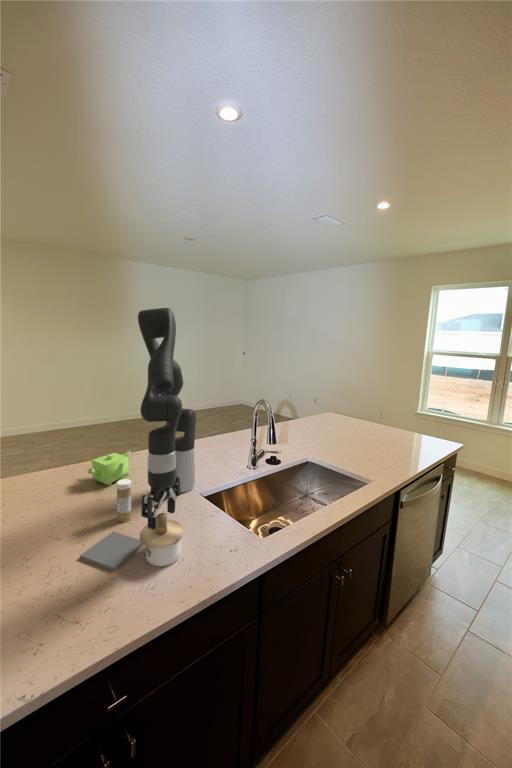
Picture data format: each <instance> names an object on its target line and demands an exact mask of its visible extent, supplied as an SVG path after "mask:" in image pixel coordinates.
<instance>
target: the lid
mask: <svg viewBox="0 0 512 768" xmlns="http://www.w3.org/2000/svg"><path fill="white" fill-rule="evenodd" d="M156 516H157V528H156V529H154V530H153V529H150V528H149V527H148V524H146V525H145V526H144V527H143V528H142V529H141V531H140V532H139V540H140V541H141V543H142V544H143V546H144V547H146V548H147V547H150V548H164V547H168V546H171V545H173V544H175V543H176V542H178V541H179V540H180V541H181V539H182V538H183V535H184V527H183V525H182V524H181V523H180V522H178V521H176V520H174V519H173V520H172V519H168V514H167V513H166V512H160V513H158V514H156Z"/></svg>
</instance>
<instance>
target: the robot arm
mask: <svg viewBox="0 0 512 768" xmlns="http://www.w3.org/2000/svg"><path fill="white" fill-rule="evenodd" d="M137 314H138V315H137V322H138V327H139V330H140V333H141V336H142V338H143V342H144V344H145V346H146V349H147V352H148V355H149V358H150V359H149V362H148V364H147V365H148V366H147V387H146V391H145V393H144V397H142V398H143V399H142V402H141V404H140V415H141V418H143V420H144V421H145V422H149V423H150V422H152V423H154V422H158V423H159V422H166V423H165V425H163V426H161V427H157V428H153V429H152V430H149V432H148V437H147V438H148V440H147V441H148V444H147V446H148V447H147V448H148V454H147V483H148V485H149V487H150V491H149V493H148V494H143V495H142V497H141V512H140V513H141V514H140V516H141V517H142V518H145V519H147V525H148V527H149V528H150V529H153V530H154V529H156V528H157V515H158V514H157V513H158V512H159V510H160V509H161V508H162V505H163V503H164V502H165V501H167V512H168V513H169V514H174V513H175V512H176V502H177V499H178V498H177V497H180V496H181V493H188V492H190V491H192V490H193V489H194V487H195V486H194V485H196V484H195V480H196V479H195V478H196V477H195V473H196V471H195V470H196V465H195V464H196V463H195V441H196V429H197V428H196V426H197V415H196V414H197V413H196V411H195V410H194V409H191V408H183V403H182V400H181V399H180V397H179V394H180V393H181V391H182V389H183V386H184V377H183V373H182V369H181V366H180V364H179V363H178V361H176V360H175V359H174V354H175V353H174V352H175V346H176V334H177V332H176V331H177V325H176V324H177V323H176V318H175V315H174V312H173V310H172V309H171V308H169V307H159V308H152V309H151V308H150V309H144V310H140V311H139V312H138V313H137ZM161 338H163V339H162V340H161V343H160V344H159V342H158V340H157V339H161ZM176 432H182V433H183V436H181V437H177V438H176ZM154 503H157V504H154Z"/></svg>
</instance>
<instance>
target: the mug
mask: <svg viewBox="0 0 512 768" xmlns="http://www.w3.org/2000/svg"><path fill="white" fill-rule="evenodd" d="M145 552H146V553H145V554H146V555H145V558H146V561H147V563H149V565H152V566H154V567H159V568H161V567H166V566H171V565H172V564H173V563H175V562H176V561H177V560H178V559H179V558H180V557H181V553H182V544H181V539H180V540H179V541H178V542H176V543H175V544H173V545H171V546H168V547H164V548H150V547H147V546H146V551H145Z"/></svg>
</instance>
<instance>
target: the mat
mask: <svg viewBox="0 0 512 768" xmlns="http://www.w3.org/2000/svg"><path fill="white" fill-rule="evenodd" d="M143 546H144V545H143V544H142V543H141V541H140V538H136V537H132V536H129V535H126V534H123V533H120V532H117V531H113V530H112V531H111V532H110V533H109V534H108V535H106V536H104V537H103V538H102V539H101V540H99V541H98V542H96V543H95V544H94V545H92V546H90V548H88V549H87V550H85V551H84V552H83V553H81V554H80V555H79V559H80V560H83V561H86V562H88V563H91V564H93V565H95V566H99V567H101V568H104V569H106V570H109V571H113V572H115V571H116V570H117V569H119V567H121V566H122V565H123V564H124V563H125V562H126V561H128V560H129V558H131V557H132V556H133V555H135V554H136V553H137V552H138V551H139V550H140V549H141V548H143Z"/></svg>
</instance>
